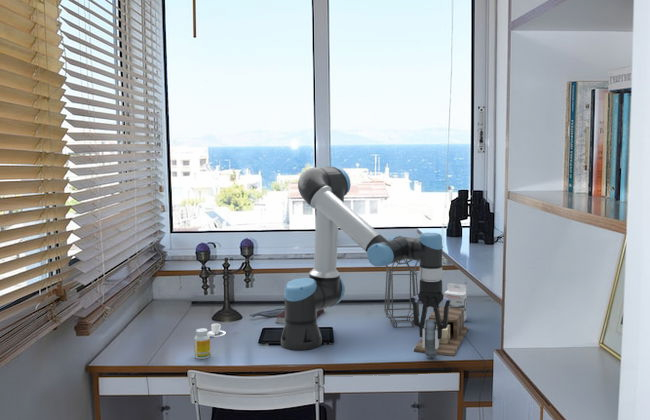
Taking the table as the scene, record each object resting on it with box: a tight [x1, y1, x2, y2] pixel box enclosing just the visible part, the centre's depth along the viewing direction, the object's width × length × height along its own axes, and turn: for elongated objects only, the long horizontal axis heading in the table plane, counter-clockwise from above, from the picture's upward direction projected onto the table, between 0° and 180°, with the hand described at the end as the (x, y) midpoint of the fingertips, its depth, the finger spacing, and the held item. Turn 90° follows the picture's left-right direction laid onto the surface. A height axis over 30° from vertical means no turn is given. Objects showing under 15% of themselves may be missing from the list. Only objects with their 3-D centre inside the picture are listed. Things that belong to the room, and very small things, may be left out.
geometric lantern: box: [384, 259, 421, 329], centre depth 242 cm, size 16×16×35 cm
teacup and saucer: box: [207, 322, 227, 338], centre depth 236 cm, size 9×8×4 cm
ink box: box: [443, 282, 468, 322], centre depth 248 cm, size 8×5×15 cm, turn 61°
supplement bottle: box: [193, 327, 211, 360], centre depth 210 cm, size 5×5×10 cm
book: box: [275, 309, 325, 325], centre depth 257 cm, size 14×22×4 cm, turn 161°
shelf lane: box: [413, 306, 469, 357], centre depth 224 cm, size 32×14×8 cm, turn 158°
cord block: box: [425, 318, 450, 358], centre depth 213 cm, size 22×6×12 cm, turn 159°
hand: (430, 347), depth 204 cm, fingers closed on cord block, 3 cm apart
